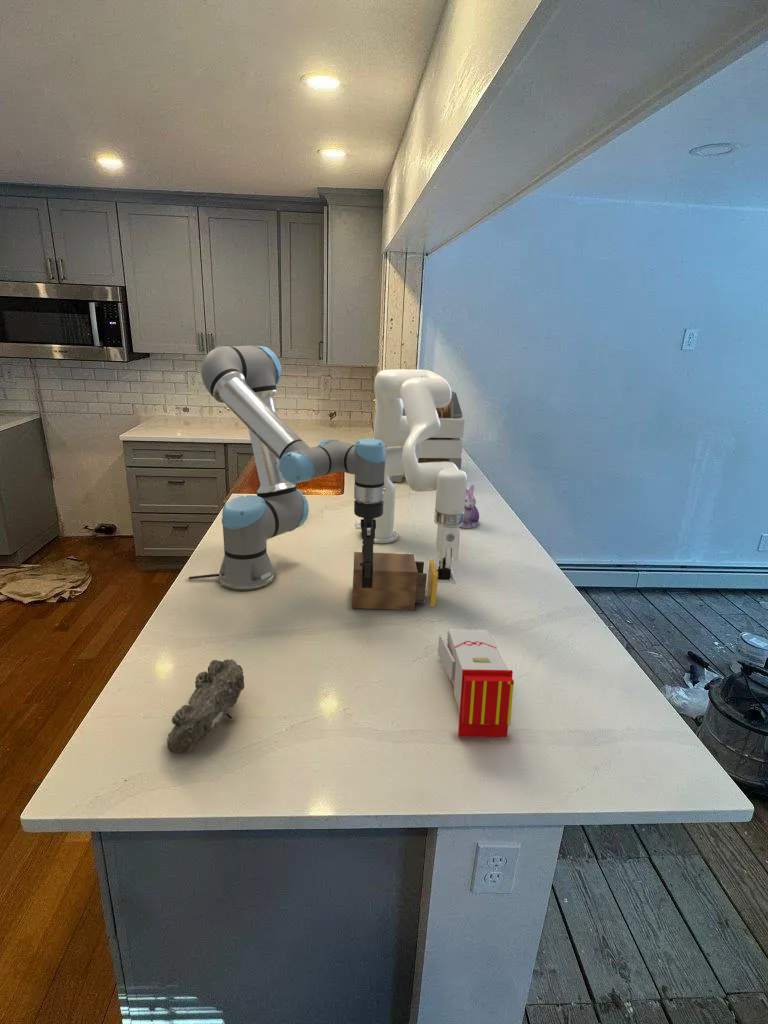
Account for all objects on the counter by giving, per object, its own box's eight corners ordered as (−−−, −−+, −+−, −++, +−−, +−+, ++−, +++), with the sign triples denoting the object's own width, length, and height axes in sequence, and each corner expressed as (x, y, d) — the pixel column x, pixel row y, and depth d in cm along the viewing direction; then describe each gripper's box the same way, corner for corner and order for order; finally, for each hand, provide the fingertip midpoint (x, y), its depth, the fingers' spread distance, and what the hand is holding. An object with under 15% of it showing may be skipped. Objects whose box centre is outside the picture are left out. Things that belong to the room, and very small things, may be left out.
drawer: (449, 589, 160) (452, 559, 157) (454, 607, 151) (458, 576, 147) (377, 586, 159) (379, 557, 156) (378, 604, 149) (380, 573, 146)
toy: (488, 613, 130) (523, 677, 101) (484, 667, 133) (517, 744, 104) (435, 612, 130) (455, 676, 101) (432, 666, 133) (451, 743, 103)
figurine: (465, 530, 205) (468, 491, 200) (449, 521, 213) (452, 483, 208) (486, 527, 209) (490, 488, 204) (469, 518, 218) (473, 480, 213)
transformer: (382, 463, 289) (386, 382, 275) (445, 464, 293) (451, 384, 279) (390, 482, 257) (394, 392, 243) (460, 483, 261) (468, 394, 247)
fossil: (192, 660, 117) (244, 628, 112) (224, 691, 120) (276, 661, 115) (142, 746, 98) (202, 712, 93) (182, 779, 101) (242, 748, 96)
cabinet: (410, 590, 160) (413, 554, 157) (414, 610, 150) (417, 572, 146) (352, 588, 160) (354, 551, 156) (351, 608, 149) (353, 569, 145)
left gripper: (385, 516, 134) (382, 598, 141) (382, 486, 156) (379, 558, 163) (353, 515, 133) (352, 597, 141) (354, 485, 156) (353, 558, 163)
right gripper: (467, 527, 140) (461, 593, 146) (459, 507, 154) (453, 568, 160) (437, 526, 140) (432, 593, 146) (431, 506, 154) (427, 568, 160)
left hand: (366, 576), depth 152 cm, fingers closed on cabinet, 11 cm apart
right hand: (443, 580), depth 153 cm, fingers closed
